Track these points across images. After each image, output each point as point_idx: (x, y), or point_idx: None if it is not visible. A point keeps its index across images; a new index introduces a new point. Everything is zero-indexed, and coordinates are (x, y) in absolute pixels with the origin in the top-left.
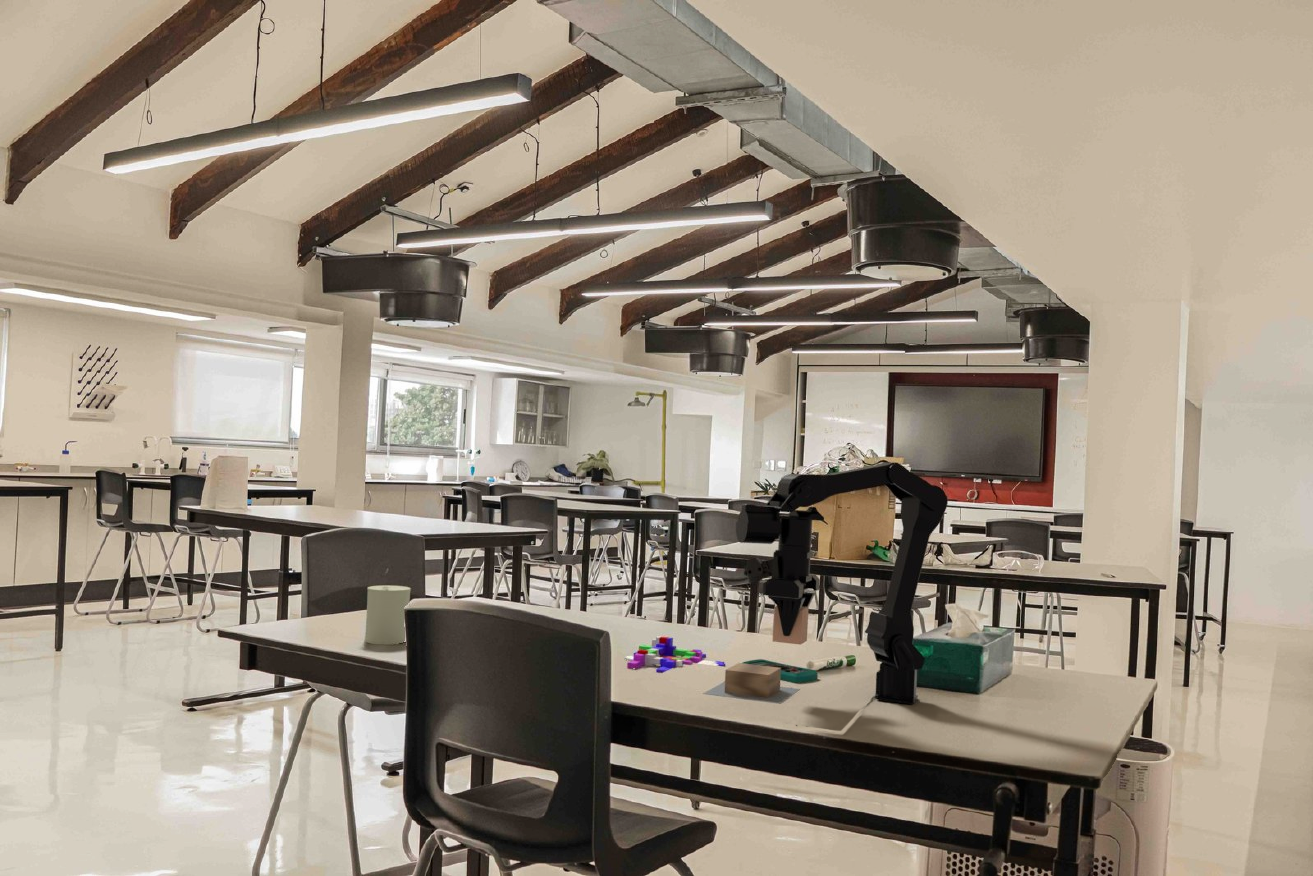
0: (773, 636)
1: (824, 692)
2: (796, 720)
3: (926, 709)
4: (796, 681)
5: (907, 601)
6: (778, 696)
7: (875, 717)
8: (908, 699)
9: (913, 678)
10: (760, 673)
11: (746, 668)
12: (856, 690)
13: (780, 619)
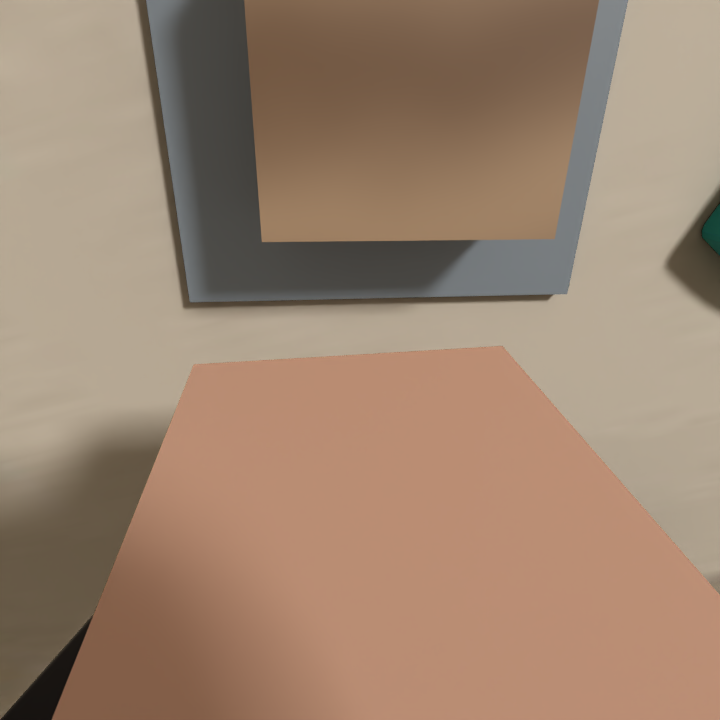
0: (183, 401)
1: (604, 374)
2: (4, 417)
3: None
4: (718, 240)
5: None
6: (340, 251)
7: None
8: None
9: None
10: (276, 173)
11: (409, 5)
12: (685, 458)
13: (6, 713)
